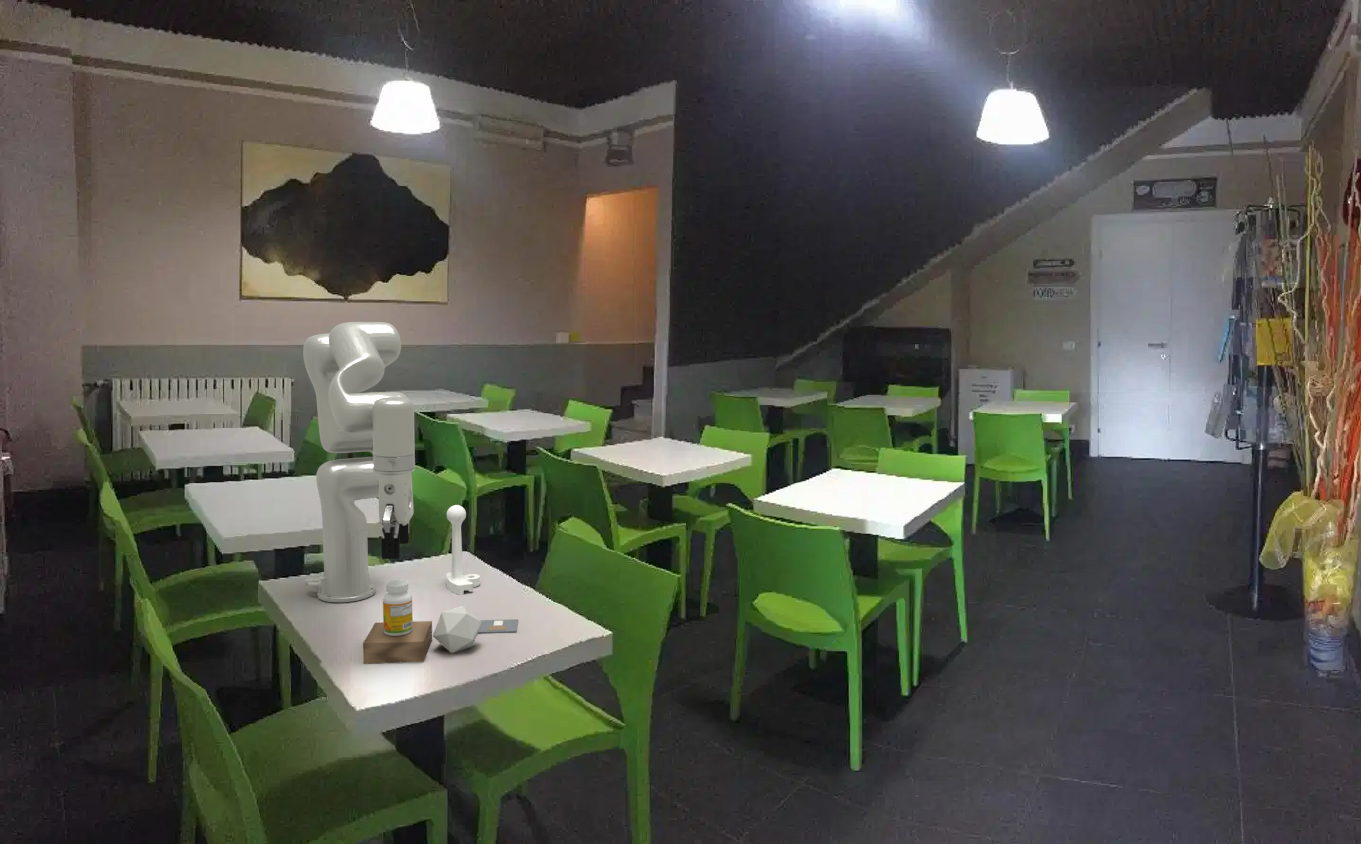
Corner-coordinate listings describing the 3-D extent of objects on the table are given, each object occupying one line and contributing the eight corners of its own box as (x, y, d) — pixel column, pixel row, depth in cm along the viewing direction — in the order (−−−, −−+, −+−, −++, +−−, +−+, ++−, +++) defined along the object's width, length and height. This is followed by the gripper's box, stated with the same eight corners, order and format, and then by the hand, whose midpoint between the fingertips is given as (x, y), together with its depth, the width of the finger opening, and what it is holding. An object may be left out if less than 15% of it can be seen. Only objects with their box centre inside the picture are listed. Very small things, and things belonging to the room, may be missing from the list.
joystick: (442, 582, 218) (441, 501, 215) (473, 578, 221) (472, 498, 219) (453, 595, 208) (452, 511, 206) (485, 591, 212) (484, 508, 209)
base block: (363, 663, 168) (362, 643, 168) (375, 641, 179) (375, 622, 179) (423, 661, 170) (423, 641, 169) (432, 640, 181) (431, 621, 180)
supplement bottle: (384, 627, 176) (383, 579, 175) (413, 625, 177) (412, 578, 176) (382, 637, 171) (381, 588, 170) (412, 635, 172) (411, 586, 171)
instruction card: (476, 633, 185) (476, 631, 185) (480, 621, 192) (480, 619, 191) (516, 632, 186) (516, 630, 186) (518, 620, 193) (518, 618, 192)
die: (464, 639, 183) (434, 606, 180) (495, 624, 180) (465, 590, 177) (449, 667, 176) (417, 633, 173) (481, 653, 173) (449, 618, 170)
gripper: (406, 472, 162) (408, 564, 164) (421, 454, 179) (422, 537, 181) (363, 472, 161) (365, 564, 163) (382, 454, 178) (384, 538, 180)
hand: (395, 550), depth 172 cm, fingers open, 9 cm apart
